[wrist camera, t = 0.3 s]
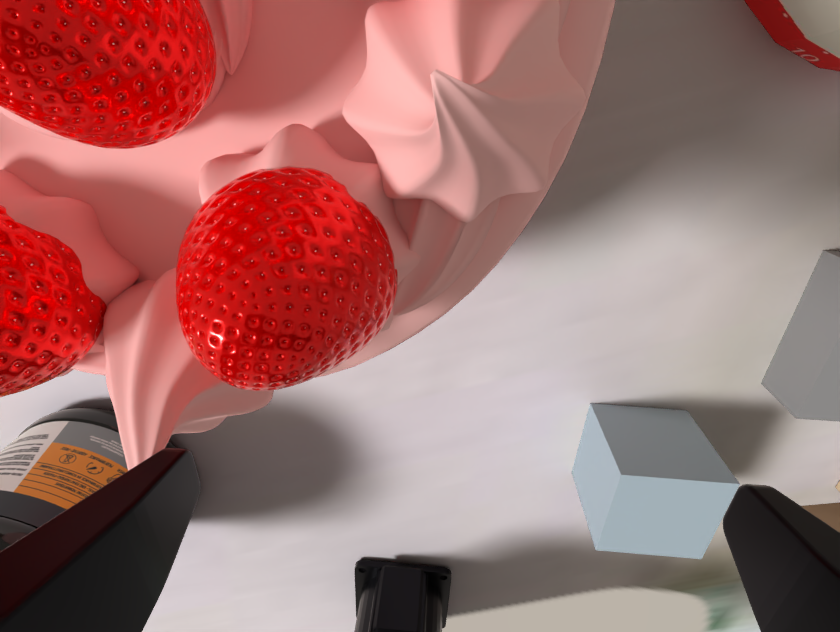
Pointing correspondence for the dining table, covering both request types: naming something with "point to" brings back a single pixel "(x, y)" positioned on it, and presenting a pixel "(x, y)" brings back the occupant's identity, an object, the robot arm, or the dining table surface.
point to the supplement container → (57, 467)
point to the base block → (811, 349)
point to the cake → (264, 184)
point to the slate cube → (650, 481)
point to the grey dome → (803, 28)
